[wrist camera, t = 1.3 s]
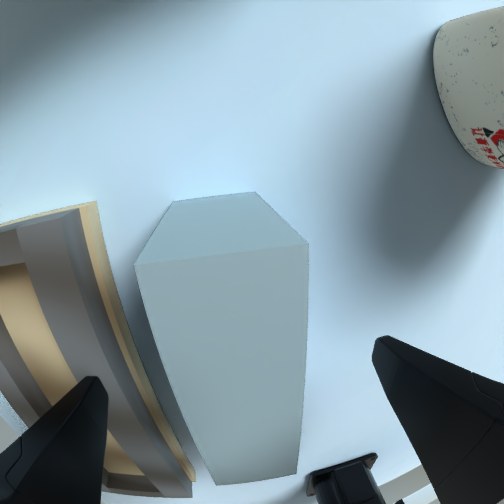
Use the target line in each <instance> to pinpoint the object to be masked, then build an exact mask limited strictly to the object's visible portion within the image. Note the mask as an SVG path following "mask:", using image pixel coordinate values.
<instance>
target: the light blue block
mask: <svg viewBox="0 0 504 504" xmlns="http://www.w3.org/2000/svg"><path fill="white" fill-rule="evenodd" d="M134 268H135V272H136V276H137V280H138V284H139V288H140V292H141V296H142V299H143V303H144V307H145V310H146V314H147V317H148V320H149V324H150V327H151V330H152V333H153V337H154V340H155V343H156V346H157V349H158V352H159V355H160V358H161V361H162V363H163V366H164V369H165V372H166V375H167V377H168V380H169V383H170V385H171V388H172V391H173V393H174V396H175V398H176V401H177V403H178V406H179V408H180V410H181V413H182V415H183V418H184V420H185V422H186V425H187V427H188V429H189V431H190V434H191V436H192V438H193V440H194V442H195V444H196V447H197V449H198V451H199V453H200V455H201V457H202V459H203V461H204V463H205V465H206V467H207V469H208V471H209V473H210V475H211V477H212V479H213V481H214V482H215V484H216V486H217V485H229V484H239V483H247V482H254V481H261V480H267V479H273V478H279V477H284V476H289V475H293V474H296V473H297V464H298V455H299V446H300V436H301V425H302V413H303V401H304V387H305V370H306V351H307V326H308V280H309V244H308V243H307V242H306V241H305V240H304V239H303V238H302V237H301V236H300V235H299V234H298V233H297V232H296V231H295V230H294V229H293V228H292V227H291V226H290V225H289V224H288V223H287V222H286V221H285V220H284V219H283V218H282V217H281V216H280V215H279V214H278V213H277V212H276V211H275V210H274V209H273V208H272V207H271V206H270V205H269V204H268V203H267V202H266V201H265V200H264V199H262V198H261V197H260V196H259V195H258V194H257V193H256V192H247V193H237V194H228V195H219V196H210V197H202V198H194V199H186V200H179V201H173V202H172V204H171V205H170V207H169V209H168V210H167V212H166V213H165V215H164V216H163V218H162V219H161V221H160V223H159V224H158V226H157V227H156V229H155V231H154V232H153V234H152V235H151V237H150V239H149V240H148V242H147V244H146V245H145V247H144V249H143V250H142V252H141V254H140V255H139V257H138V259H137V260H136V262H135V264H134Z"/></svg>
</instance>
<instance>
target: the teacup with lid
mask: <svg viewBox="0 0 504 504" xmlns="http://www.w3.org/2000/svg"><path fill="white" fill-rule="evenodd" d="M433 64H434V74H435V79H436V84H437V89H438V93H439V96H440V100H441V103H442V106H443V109H444V111H445V114H446V116H447V119H448V121H449V123H450V125H451V127H452V129H453V131H454V133H455V135H456V136H457V138H458V140H459V141H460V143H461V144H462V145H463V147H464V148H465V149H466V151H467V152H468V153H469V154H470V155H471V156H472V157H474V158H475V159H476V160H477V161H479V162H481V163H483V164H485V165H488V166H493V167H497V168H502V169H504V6H503V7H498V8H494V9H489V10H485V11H481V12H477V13H474V14H470V15H467V16H463V17H460V18H457V19H453V20H450V21H448V22H446V23H445V24H444V25H443V26H442V27H441V28H440V30H439V31H438V33H437V35H436V38H435V43H434V50H433Z"/></svg>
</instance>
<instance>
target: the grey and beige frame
mask: <svg viewBox="0 0 504 504" xmlns="http://www.w3.org/2000/svg"><path fill="white" fill-rule="evenodd" d="M85 376H98V377H99V378H100V380H101V382H102V384H103V386H104V387H105V389H106V391H107V393H108V397H109V403H108V424H107V441H106V449H105V458H104V466H103V476H102V488H101V491H103V492H110V493H117V494H125V495H134V496H146V497H164V498H192V482H196V478H195V470H194V469H193V467H192V465H191V463H190V462H189V460H188V458H187V456H186V455H185V453H184V451H183V449H182V447H181V446H180V444H179V442H178V440H177V438H176V436H175V434H174V432H173V430H172V429H171V427H170V425H169V423H168V421H167V419H166V416H165V414H164V412H163V410H162V408H161V406H160V404H159V402H158V399H157V397H156V395H155V393H154V391H153V388H152V386H151V384H150V381H149V379H148V377H147V374H146V372H145V369H144V367H143V364H142V362H141V359H140V357H139V354H138V352H137V349H136V346H135V343H134V341H133V338H132V335H131V332H130V329H129V327H128V324H127V321H126V318H125V315H124V312H123V308H122V305H121V302H120V299H119V295H118V292H117V289H116V285H115V282H114V278H113V274H112V271H111V267H110V263H109V259H108V255H107V251H106V247H105V242H104V238H103V233H102V229H101V224H100V219H99V214H98V208H97V203H96V201H93V202H88V203H83V204H78V205H74V206H69V207H65V208H60V209H56V210H52V211H48V212H43V213H39V214H35V215H32V216H28V217H24V218H20V219H16V220H13V221H9V222H6V223H2V224H0V391H1V392H2V394H3V395H4V397H5V398H6V399H7V401H8V402H9V403H10V405H11V406H12V407H13V409H14V410H15V411H16V413H17V414H18V415H19V417H20V418H21V419H22V420H23V421H24V423H25V424H26V425H27V426H28V427H31V426H32V425H33V424H34V423H35V422H36V421H37V420H38V419H39V418H40V417H41V416H42V415H44V414H45V413H46V412H47V411H48V410H49V409H50V408H51V407H52V406H53V405H54V404H56V403H57V402H58V401H59V400H60V399H61V398H62V397H63V396H64V395H65V394H67V393H68V392H69V391H70V390H71V389H72V388H73V387H74V386H75V385H76V384H78V383H79V382H80V381H81V380H82V379H83V378H84V377H85Z"/></svg>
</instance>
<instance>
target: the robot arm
mask: <svg viewBox="0 0 504 504" xmlns="http://www.w3.org/2000/svg"><path fill="white" fill-rule="evenodd" d="M372 362H373V365H374V367H375V370H376V372H377V375H378V377H379V379H380V382H381V384H382V387H383V389H384V392H385V394H386V396H387V398H388V400H389V402H390V404H391V406H392V408H393V410H394V412H395V413H396V415H397V417H398V419H399V421H400V423H401V425H402V427H403V428H404V430H405V432H406V434H407V436H408V438H409V440H410V442H411V444H412V446H413V448H414V450H415V452H416V454H417V455H418V457H419V459H420V461H421V463H422V465H423V467H424V469H425V471H426V473H427V475H428V478H429V480H430V482H431V484H432V486H433V488H434V491H435V493H436V495H437V497H438V499H439V501H440V503H441V504H504V384H503V383H500V382H497V381H494V380H491V379H489V378H486V377H483V376H481V375H479V374H476V373H474V372H472V373H471V371H469V370H467V369H464V368H462V367H460V366H457V365H455V364H452V363H450V362H448V361H446V360H443V359H441V358H439V357H436V356H434V355H432V354H429V353H427V352H425V351H422V350H420V349H418V348H416V347H413V346H411V345H409V344H407V343H404V342H402V341H400V340H398V339H395V338H393V337H391V336H388V335H385V336H382V337H378V338H377V339H376V340H375V344H374V349H373V353H372ZM108 403H109V397H108V393H107V391H106V389H105V387H104V386H103V384H102V382H101V380H100V378H99V377H98V376H85V377H84V378H83V379H82V380H81V381H80V382H79V383H78V384H76V385H75V386H74V387H73V388H72V389H71V390H70V391H69V392H68V393H67V394H65V395H64V396H63V397H62V398H61V399H60V400H59V401H58V402H57V403H56V404H54V405H53V406H52V407H51V408H50V409H49V410H48V411H47V412H46V413H45V414H44V415H42V416H41V417H40V418H39V419H38V420H37V421H36V422H35V423H34V424H33V425H32V426H31V427H29V428H28V429H27V430H26V431H25V432H24V433H23V434H22V435H21V436H20V437H19V438H18V439H17V440H16V441H15V442H13V443H12V444H11V445H10V446H9V447H8V448H7V449H6V450H4V451H3V452H2V453H1V454H0V504H100V503H101V488H102V476H103V466H104V458H105V449H106V441H107V424H108ZM377 457H378V455H377V454H376V453H373V454H370V455H368V456H365V457H362V458H359V459H356V460H353V461H351V462H347V463H344V464H341V465H338V466H335V467H331V468H328V469H324V470H321V471H317V472H314V473H312V474H311V476H310V480H309V484H308V488H307V492H306V494H307V496H313V495H316V498H317V501H318V504H386V503H385V501H384V499H383V497H382V495H381V492H380V490H379V488H378V486H377V484H376V482H375V480H374V478H373V476H372V473H371V471H370V469H371V468H372V466H373V464H374V463H375V461H376V459H377ZM395 504H404V502H403V500H402V499H401V500H399V501H397V502H396V503H395Z"/></svg>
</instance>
